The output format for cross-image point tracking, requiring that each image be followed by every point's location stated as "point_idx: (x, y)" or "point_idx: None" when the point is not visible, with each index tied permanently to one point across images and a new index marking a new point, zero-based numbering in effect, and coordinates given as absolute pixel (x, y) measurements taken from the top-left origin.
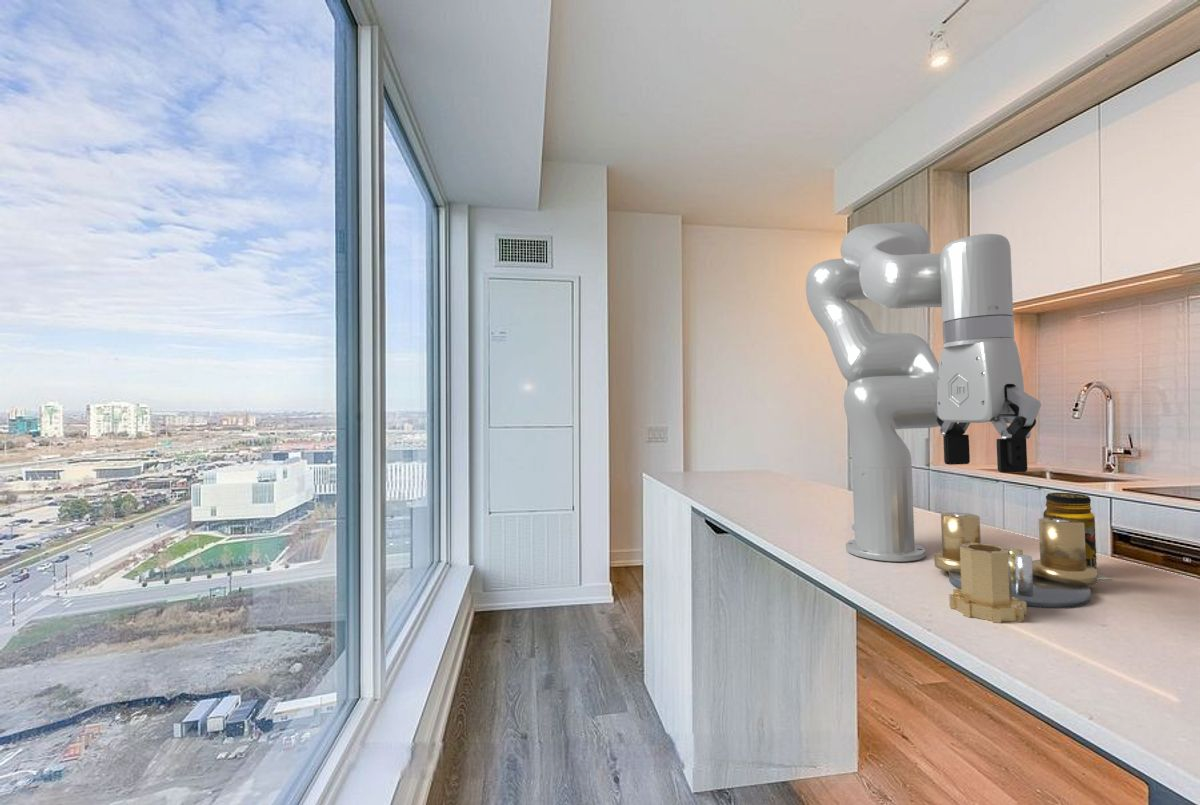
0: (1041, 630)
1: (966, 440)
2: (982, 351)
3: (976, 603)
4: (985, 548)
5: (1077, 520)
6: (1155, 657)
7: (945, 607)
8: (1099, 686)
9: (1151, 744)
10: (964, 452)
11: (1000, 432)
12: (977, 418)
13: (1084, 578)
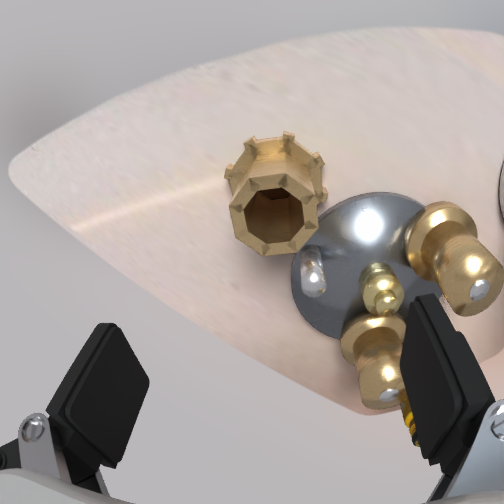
0: (207, 209)
1: (421, 438)
2: None
3: (248, 156)
4: (299, 227)
5: (408, 411)
6: (151, 273)
7: (290, 126)
8: (78, 184)
9: (15, 169)
10: (413, 387)
11: (44, 439)
12: (23, 485)
13: (341, 343)
